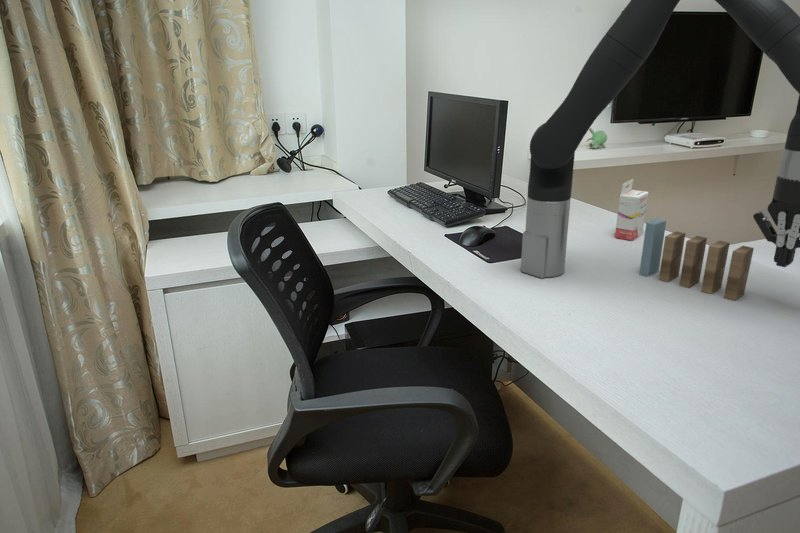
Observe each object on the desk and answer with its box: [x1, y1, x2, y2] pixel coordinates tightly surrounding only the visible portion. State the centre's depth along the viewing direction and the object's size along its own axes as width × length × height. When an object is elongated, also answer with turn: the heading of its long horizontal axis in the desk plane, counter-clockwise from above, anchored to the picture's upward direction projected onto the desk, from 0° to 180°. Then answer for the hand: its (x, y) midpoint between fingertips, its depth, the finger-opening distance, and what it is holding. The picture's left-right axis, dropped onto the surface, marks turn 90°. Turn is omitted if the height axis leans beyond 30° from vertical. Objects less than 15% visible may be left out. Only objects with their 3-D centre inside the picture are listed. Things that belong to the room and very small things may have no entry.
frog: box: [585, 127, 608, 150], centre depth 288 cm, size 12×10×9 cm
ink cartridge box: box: [614, 178, 650, 242], centre depth 153 cm, size 9×5×15 cm, turn 141°
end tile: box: [638, 217, 667, 277], centre depth 128 cm, size 5×2×12 cm, turn 131°
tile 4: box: [658, 230, 686, 283], centre depth 125 cm, size 5×2×10 cm, turn 131°
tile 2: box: [700, 240, 731, 295], centre depth 119 cm, size 5×2×10 cm, turn 131°
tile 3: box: [679, 235, 708, 289], centre depth 122 cm, size 5×2×10 cm, turn 131°
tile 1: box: [723, 245, 754, 302], centre depth 116 cm, size 5×2×10 cm, turn 131°
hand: (782, 265), depth 110 cm, fingers closed
